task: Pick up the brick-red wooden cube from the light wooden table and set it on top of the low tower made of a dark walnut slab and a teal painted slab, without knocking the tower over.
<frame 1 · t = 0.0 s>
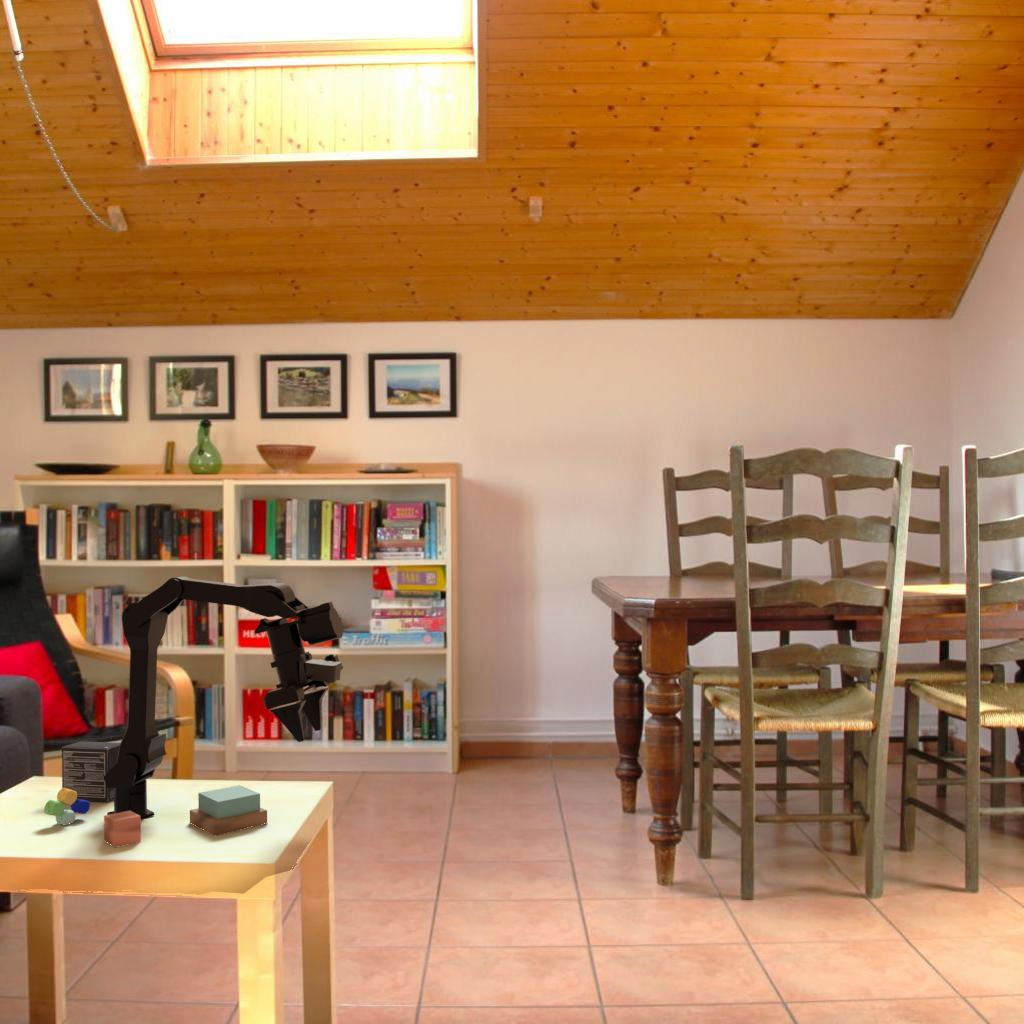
hand: (310, 735, 188), 15 cm above the table, tool pointing down, fingers open, 9 cm apart
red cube: (122, 842, 178), on the table
tower top: (229, 809, 188), point 2 cm above the table, touching tower base
multicolored block cluster: (67, 823, 189), on the table
small box: (94, 798, 206), on the table
tower base: (228, 826, 188), on the table, touching tower top
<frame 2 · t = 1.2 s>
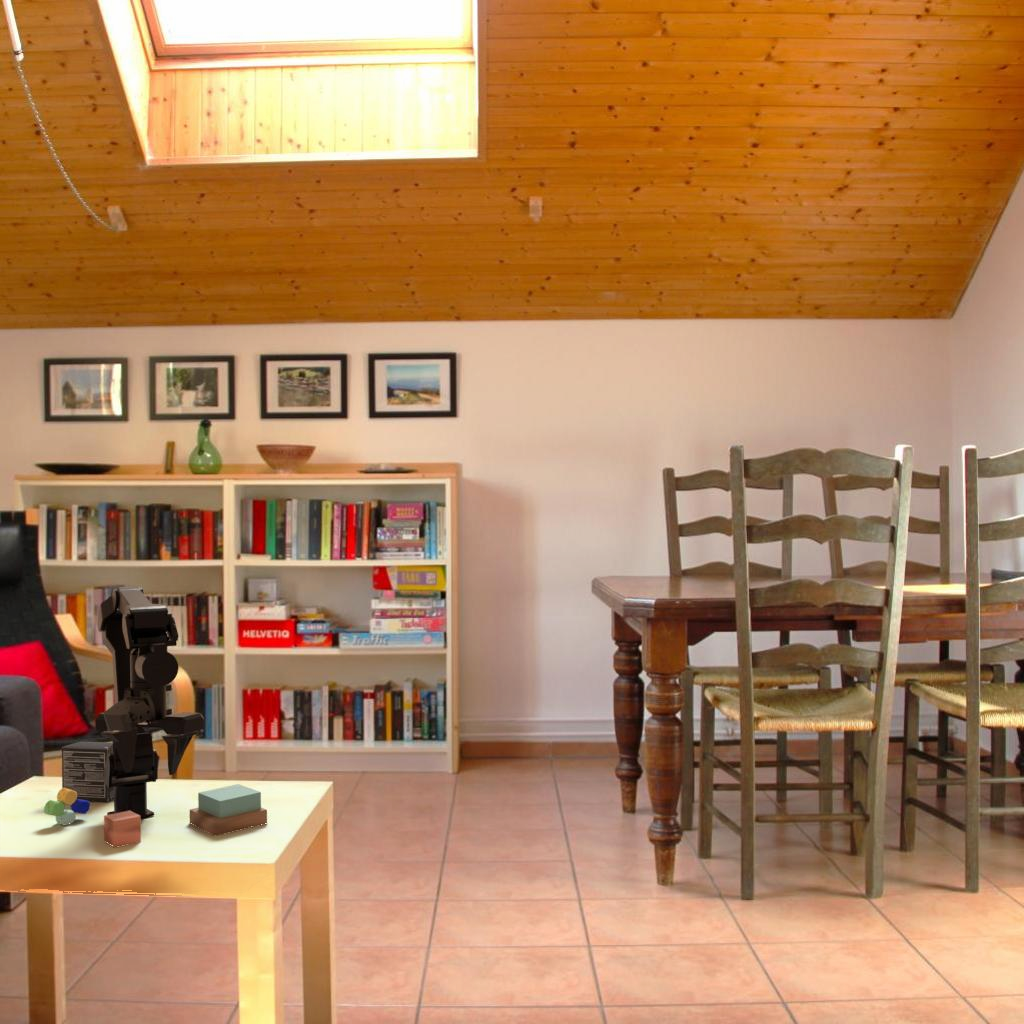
hand: (150, 773, 176), 12 cm above the table, tool pointing down, fingers open, 9 cm apart
nothing on the table moved.
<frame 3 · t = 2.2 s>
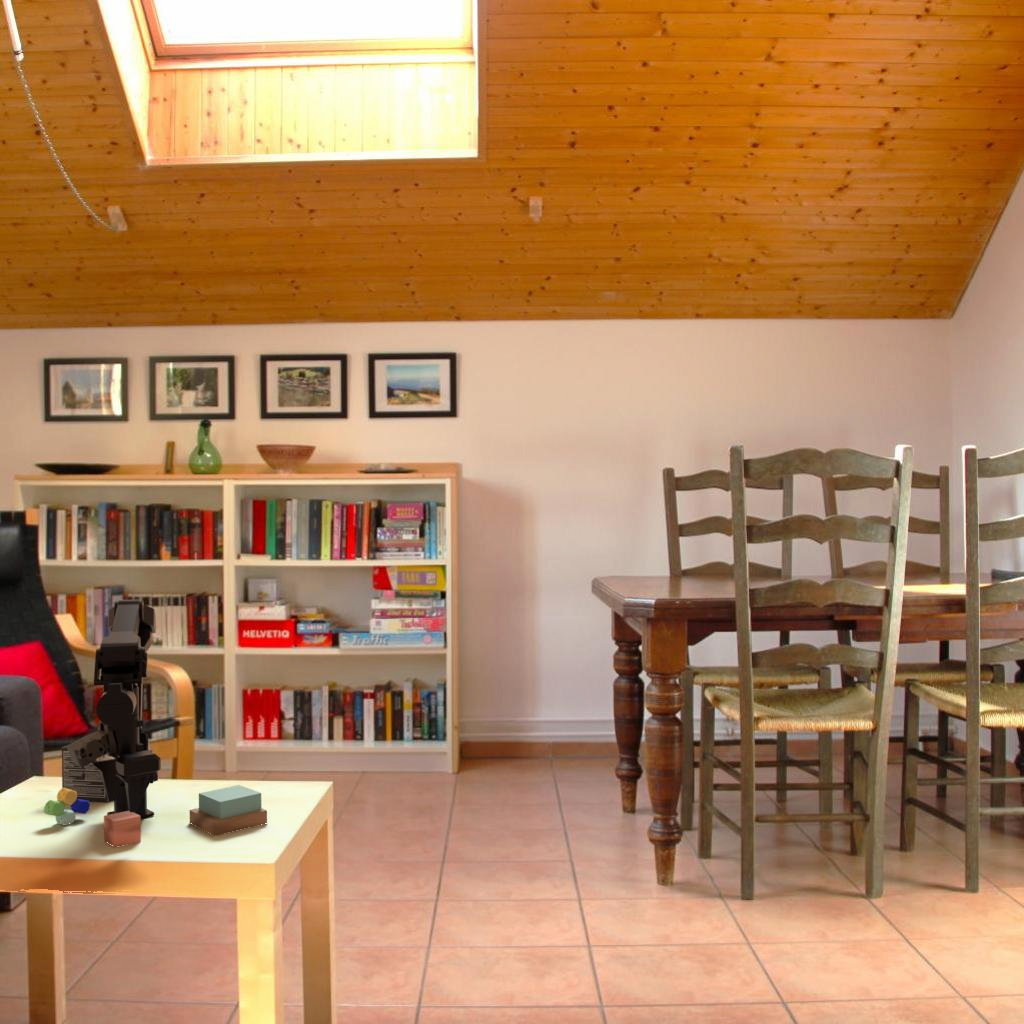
hand: (122, 806, 178), 6 cm above the table, tool pointing down, fingers open, 9 cm apart
nothing on the table moved.
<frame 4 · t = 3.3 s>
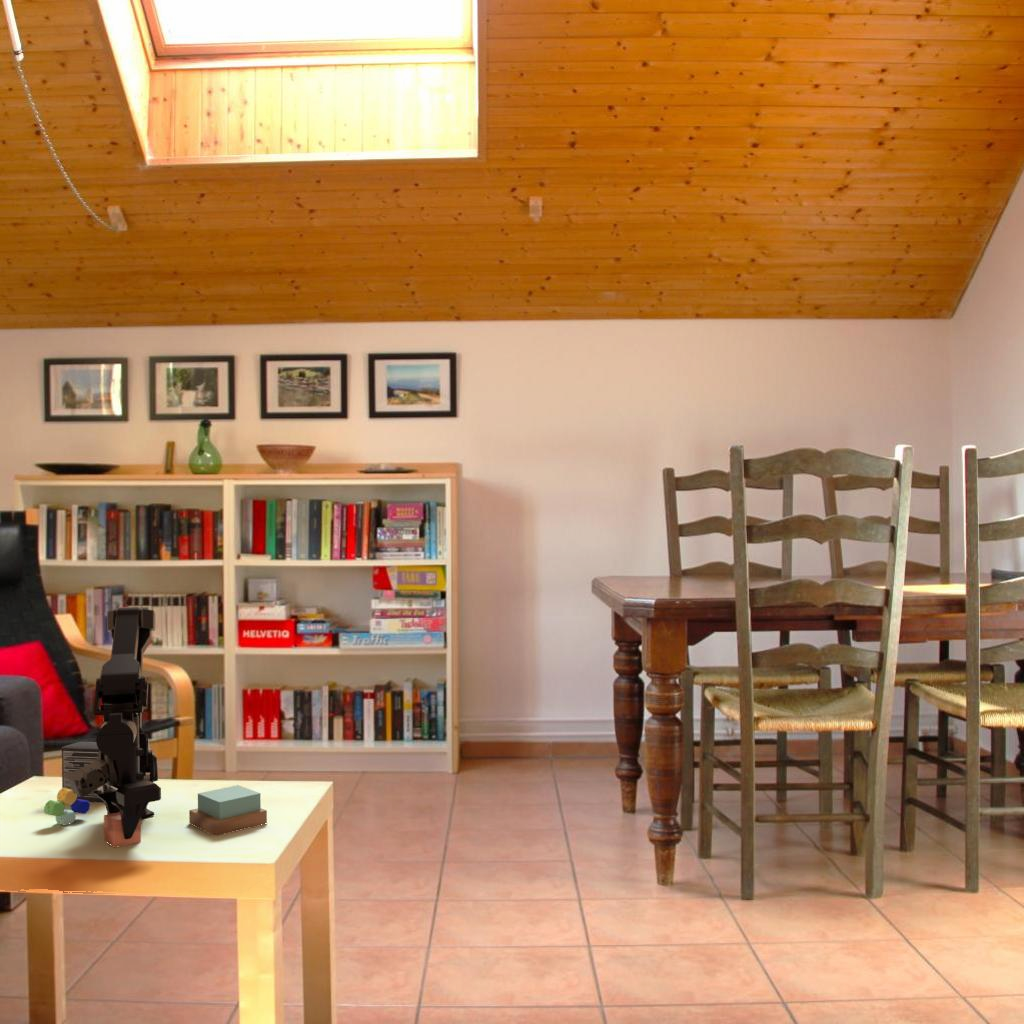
hand: (122, 835, 178), 1 cm above the table, tool pointing down, fingers closed on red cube, 4 cm apart
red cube: (122, 841, 178), on the table, touching gripper
everything else where it was.
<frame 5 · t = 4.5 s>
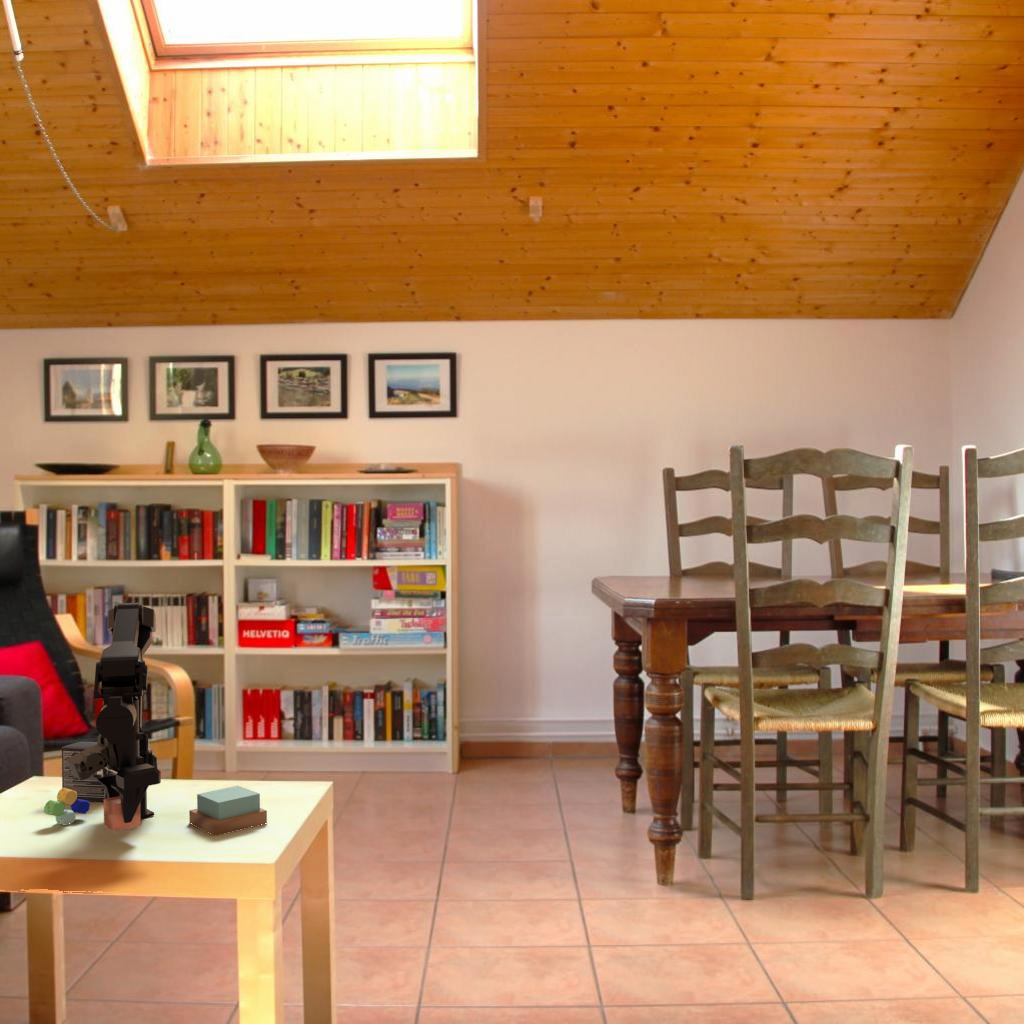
hand: (122, 819, 178), 4 cm above the table, tool pointing down, fingers closed on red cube, 4 cm apart
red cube: (122, 825, 178), point 3 cm above the table, touching gripper
everything else where it was.
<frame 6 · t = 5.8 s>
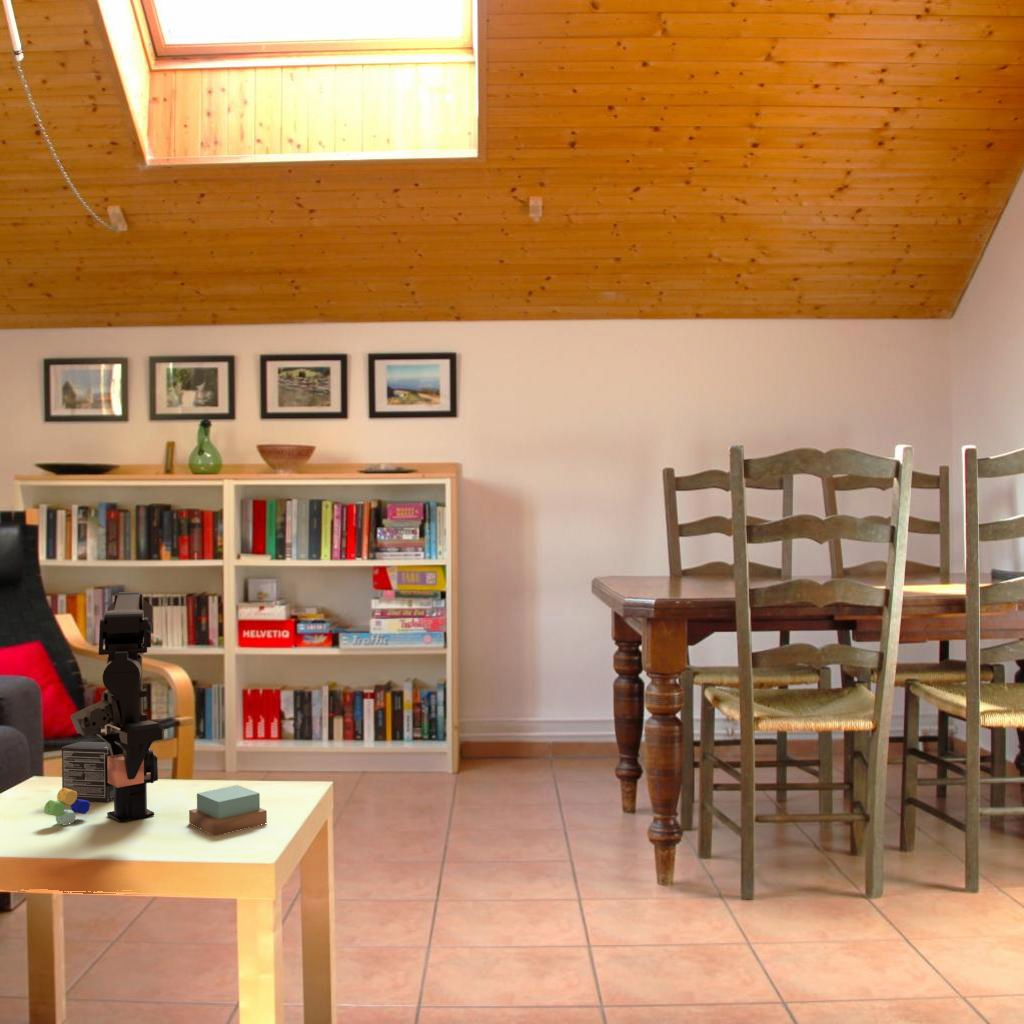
hand: (125, 776, 178), 11 cm above the table, tool pointing down, fingers closed on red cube, 4 cm apart
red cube: (125, 782, 178), point 10 cm above the table, touching gripper
tower top: (228, 809, 188), point 2 cm above the table
tower base: (228, 827, 187), on the table
everything else where it was.
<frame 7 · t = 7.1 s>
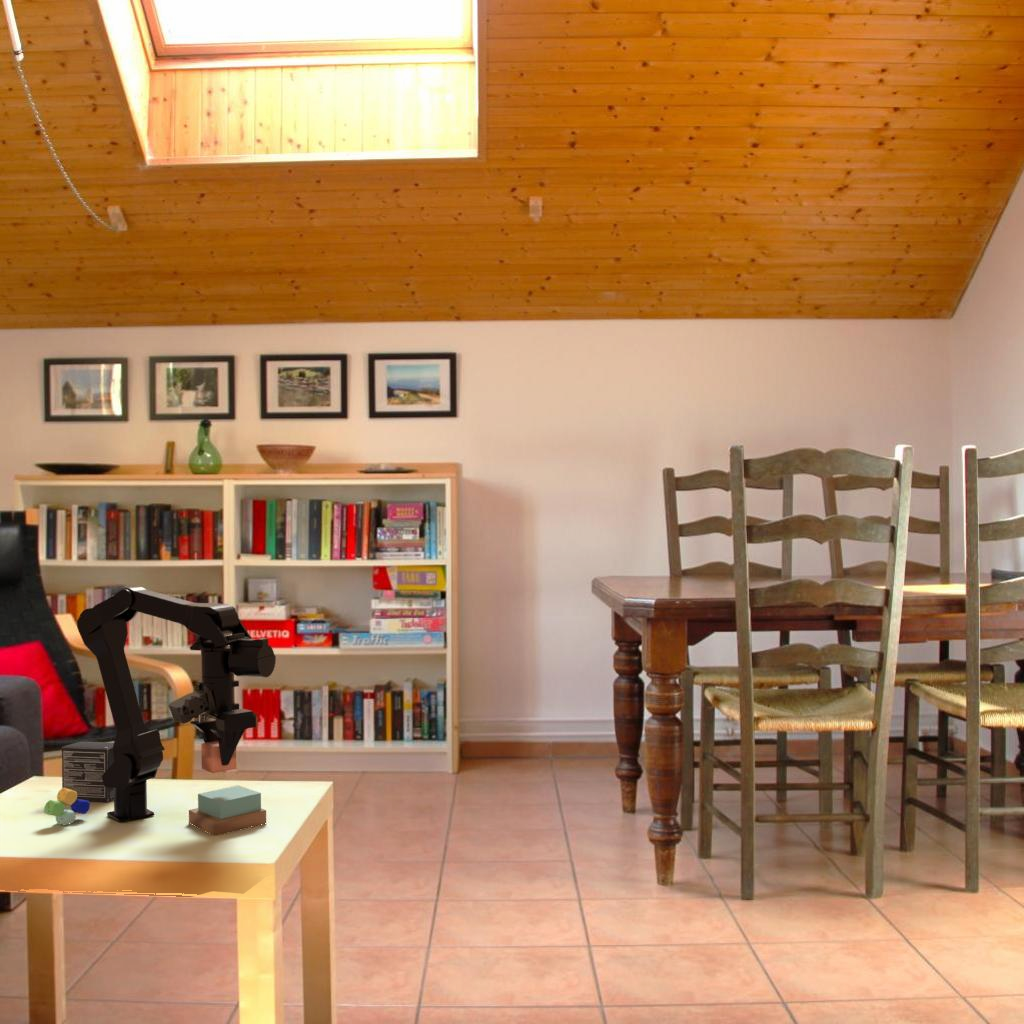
hand: (219, 762, 187), 11 cm above the table, tool pointing down, fingers closed on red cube, 4 cm apart
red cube: (219, 768, 187), point 10 cm above the table, touching gripper
tower top: (229, 810, 187), point 2 cm above the table, touching tower base
tower base: (227, 826, 187), on the table, touching tower top
everything else where it was.
when the fingers open (8 cm above the table, at t = 8.4 s): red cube drops 1 cm, point 6 cm above the table.
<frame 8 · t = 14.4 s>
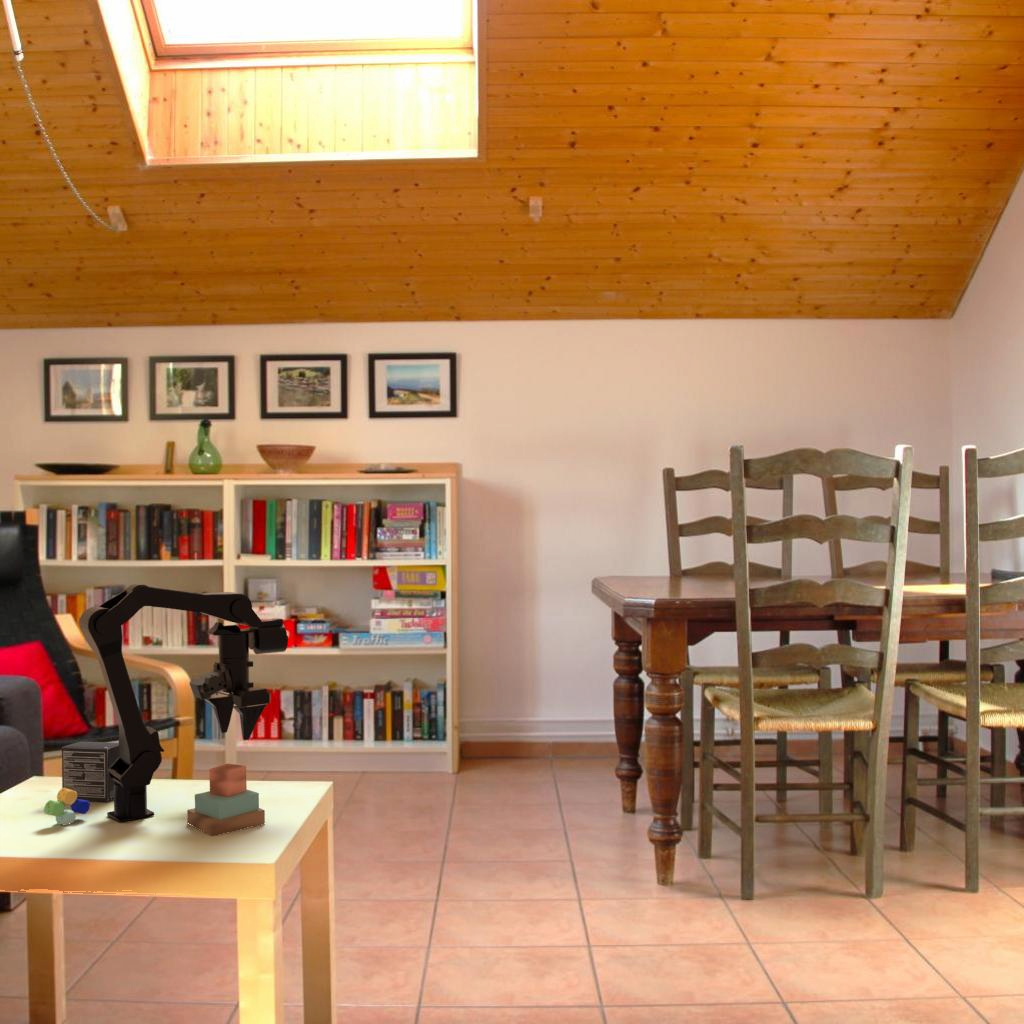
hand: (234, 736, 205), 12 cm above the table, tool pointing down, fingers open, 9 cm apart
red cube: (228, 792, 188), point 6 cm above the table
everything else where it was.
at the end: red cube 0.8 cm off-centre on the tower top, point 3.0 cm above the tower top's base; tower top moved 0.9 cm from its start; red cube tilted 1° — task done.
